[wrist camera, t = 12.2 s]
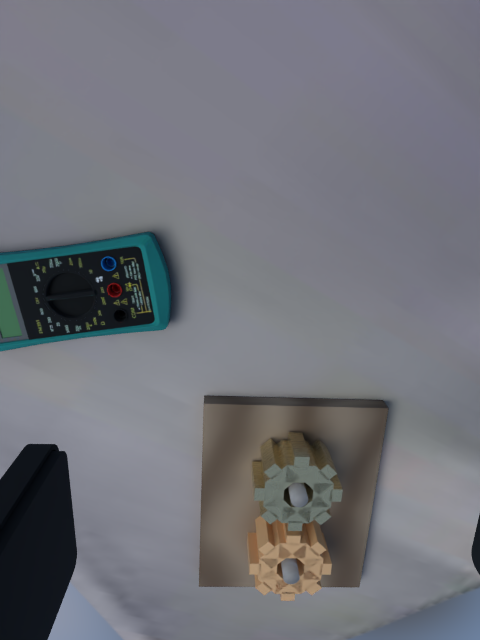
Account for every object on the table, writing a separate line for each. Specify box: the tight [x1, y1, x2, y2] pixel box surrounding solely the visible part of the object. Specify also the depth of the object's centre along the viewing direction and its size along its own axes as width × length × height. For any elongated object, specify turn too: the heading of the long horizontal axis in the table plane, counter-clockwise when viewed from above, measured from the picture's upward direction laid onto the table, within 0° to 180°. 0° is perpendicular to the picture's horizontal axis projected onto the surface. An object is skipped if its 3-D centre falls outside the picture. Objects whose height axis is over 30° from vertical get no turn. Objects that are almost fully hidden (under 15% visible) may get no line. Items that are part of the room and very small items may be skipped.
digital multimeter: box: [0, 232, 171, 351], centre depth 35 cm, size 8×15×3 cm, turn 97°
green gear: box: [251, 432, 343, 531], centre depth 38 cm, size 7×7×4 cm
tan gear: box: [247, 515, 332, 601], centre depth 41 cm, size 7×7×4 cm
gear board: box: [199, 396, 388, 587], centre depth 40 cm, size 16×20×6 cm
